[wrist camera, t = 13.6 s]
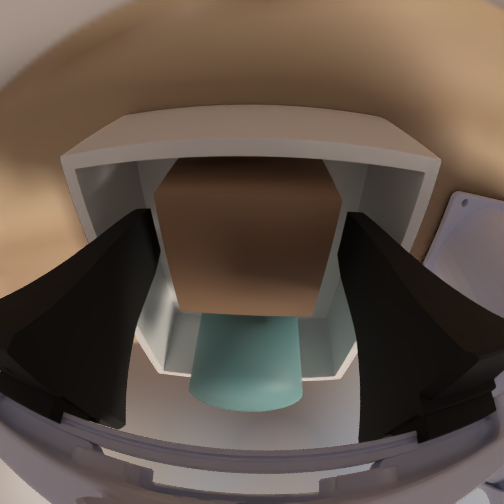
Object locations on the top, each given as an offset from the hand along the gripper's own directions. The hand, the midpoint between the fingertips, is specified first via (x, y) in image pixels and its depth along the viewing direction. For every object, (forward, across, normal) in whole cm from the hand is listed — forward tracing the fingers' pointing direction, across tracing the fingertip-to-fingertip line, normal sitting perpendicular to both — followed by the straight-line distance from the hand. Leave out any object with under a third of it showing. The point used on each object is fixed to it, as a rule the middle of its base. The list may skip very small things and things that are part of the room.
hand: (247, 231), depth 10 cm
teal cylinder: (+3, 0, +6) cm, 7 cm away
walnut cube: (+3, 0, 0) cm, 3 cm away
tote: (+4, 0, +3) cm, 5 cm away
